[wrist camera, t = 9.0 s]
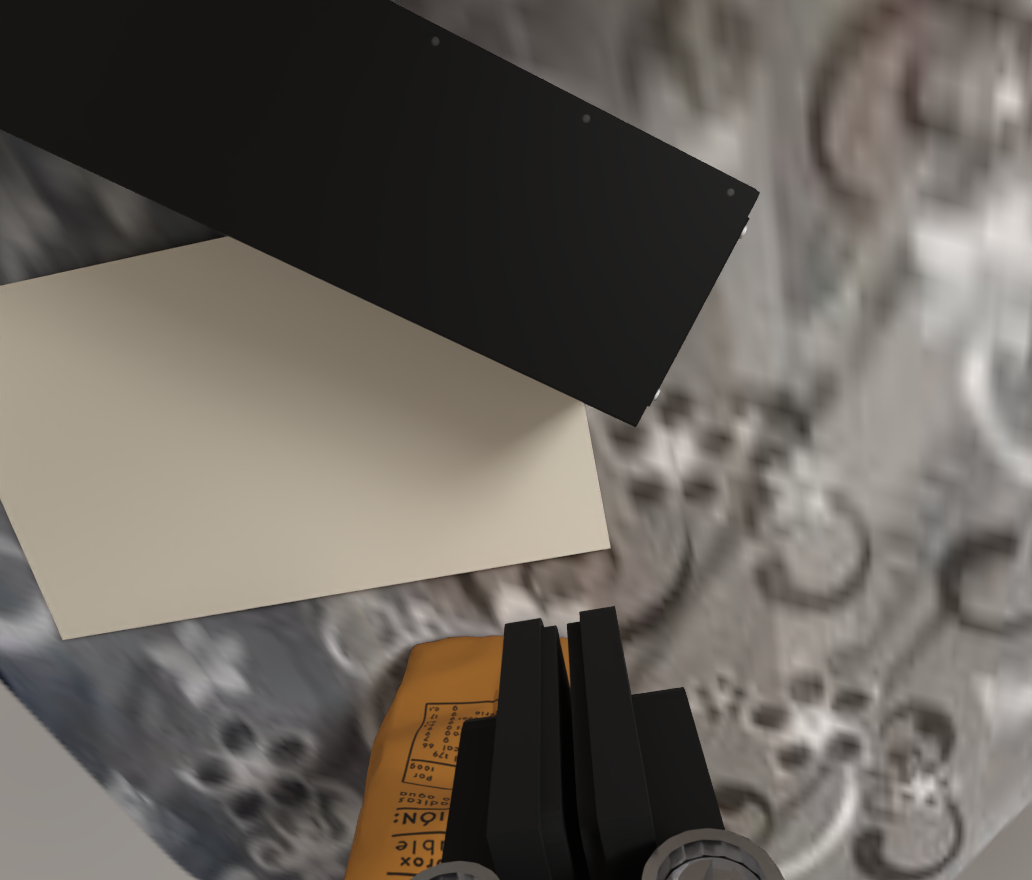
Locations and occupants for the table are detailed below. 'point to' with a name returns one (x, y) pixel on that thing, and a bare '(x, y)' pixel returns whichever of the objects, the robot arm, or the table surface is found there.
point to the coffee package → (423, 755)
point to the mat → (264, 443)
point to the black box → (391, 172)
